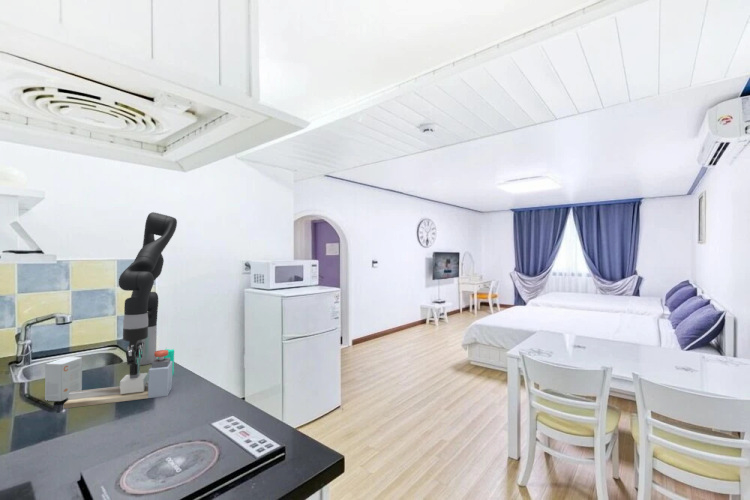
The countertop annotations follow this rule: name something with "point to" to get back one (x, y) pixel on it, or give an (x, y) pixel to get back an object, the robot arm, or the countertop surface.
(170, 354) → the candle
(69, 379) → the small box
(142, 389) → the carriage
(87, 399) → the rail
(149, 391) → the push button housing
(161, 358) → the button
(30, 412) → the countertop surface
